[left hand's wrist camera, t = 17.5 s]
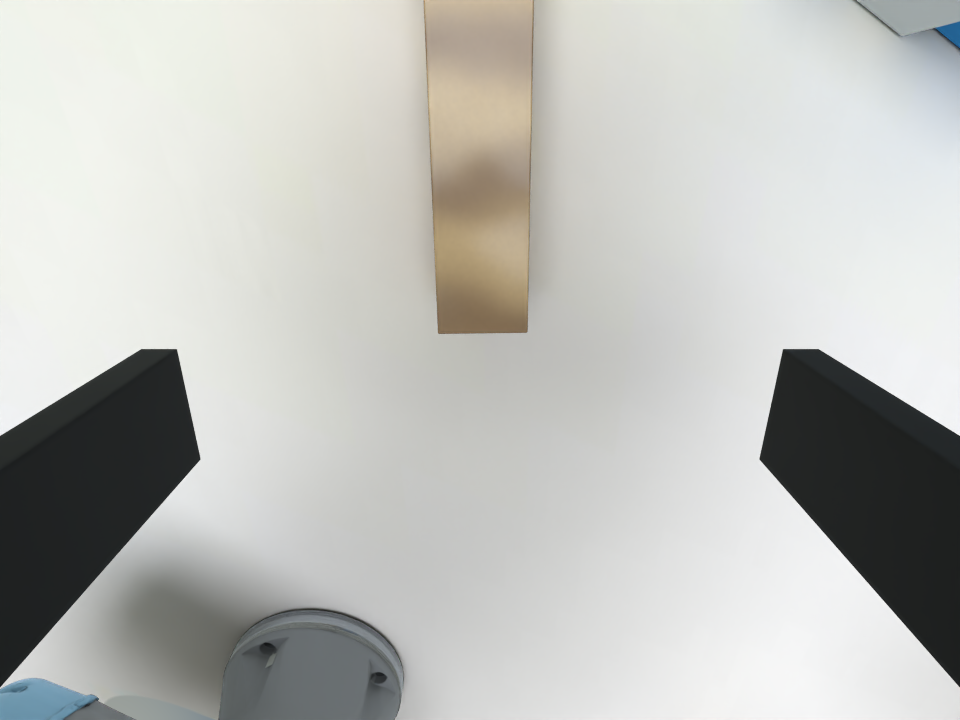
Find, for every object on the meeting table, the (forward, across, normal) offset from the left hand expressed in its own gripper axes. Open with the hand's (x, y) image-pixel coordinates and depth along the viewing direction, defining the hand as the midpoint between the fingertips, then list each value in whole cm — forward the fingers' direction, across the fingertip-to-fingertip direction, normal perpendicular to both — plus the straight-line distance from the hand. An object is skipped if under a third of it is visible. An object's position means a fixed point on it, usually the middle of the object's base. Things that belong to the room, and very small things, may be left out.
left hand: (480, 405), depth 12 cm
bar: (+25, 0, -8) cm, 26 cm away
